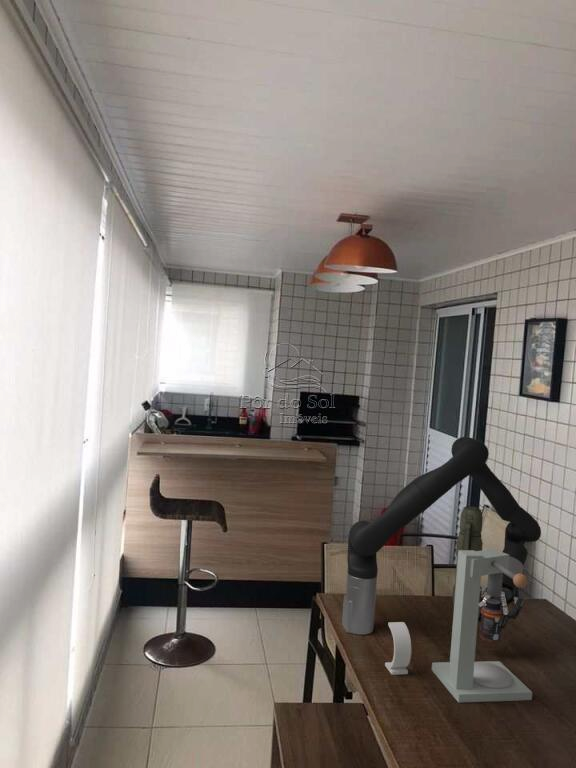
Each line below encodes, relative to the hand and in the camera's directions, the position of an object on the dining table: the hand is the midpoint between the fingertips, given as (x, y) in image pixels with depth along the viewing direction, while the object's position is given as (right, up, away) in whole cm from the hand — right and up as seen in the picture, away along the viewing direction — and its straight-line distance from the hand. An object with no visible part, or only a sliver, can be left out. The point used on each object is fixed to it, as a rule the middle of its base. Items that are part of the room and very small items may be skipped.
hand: (489, 624), depth 173 cm
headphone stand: (-29, -8, -11) cm, 32 cm away
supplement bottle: (+1, -5, +1) cm, 5 cm away
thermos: (+5, -9, +40) cm, 41 cm away
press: (-7, -10, -20) cm, 23 cm away
